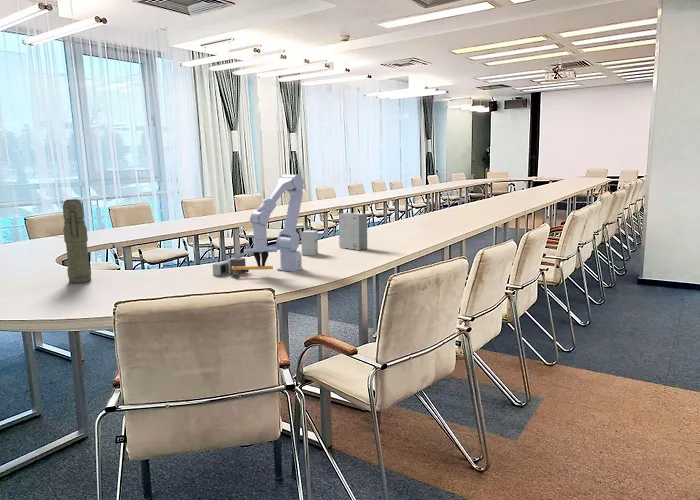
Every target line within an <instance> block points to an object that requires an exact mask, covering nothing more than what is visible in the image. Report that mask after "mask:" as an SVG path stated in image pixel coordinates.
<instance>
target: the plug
mask: <svg viewBox="0 0 700 500" xmlns="http://www.w3.org/2000/svg"><path fill="white" fill-rule="evenodd" d="M227 260H228V269H229V273H228V274H229V275H230V274H231V275H233V270H232V266H246V258H243V257H232V258H228V259H227ZM249 271H250V270H237V272H238V275H242V274H245V273H249Z"/></svg>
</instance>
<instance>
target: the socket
mask: <svg viewBox="0 0 700 500" xmlns="http://www.w3.org/2000/svg"><path fill="white" fill-rule="evenodd" d="M228 274H229V269H228V259H225V260H222V261H220V262H219V261H218V262H216V263H212V276H217V277H221V276H224V275H228Z"/></svg>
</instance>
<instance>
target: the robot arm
mask: <svg viewBox="0 0 700 500" xmlns="http://www.w3.org/2000/svg"><path fill="white" fill-rule="evenodd" d="M304 185H305V180H304V178H303V177H302V175H301V174H287V173H286V174H285V173H283V174H282V175H281V176H280V178H279V179H278V183H277V185H276V187H275V188H274V190H273V191H272V193H271V194H270V195H269V197H266V198H264V199H263V200H262V203H261V204H260V206H258V207H257V210H255V211H253V212H252V213H251V214H250V217H249V222H250V223H251V227H252V231H253V232H252V233H253V247H252V248H244V249H243V254H244V255H247V254H248V255H250V254H251V255H253V256H254V259H255V262H256V265H257V266H266V264H267V263H266V262H267V260H268V257H269V253H278V251H279V255H280V267H278V268H276V270H277V271H284V272H285V271H287V272H297V271H300V270H302V269H303V266H302V264H303V262H302V252H300V251H298V248H299V246H300V235H299V234H298V231H296V230H297V225H298V221H299V214H300V210H301V205H302V201H303V200H302V199H303V195H304V194H303V193H304V192H303V190H304ZM285 192H287V194H289V196H290V197H289V202H288V206H287V211H286V217H285V221H284V228H283V229H282V230H281V231H280V232H279V233H278V237H277V238H276V240H275V241H276V243H275V244H276V246H272V247H271V246H268V236H267V233H268V232H267V231H268V230H267V224H268V223H270V216H271V214H272V213H273V211H274V210H275V208H276V207H277V201H278V200H279V199H280V198H281V197H282V196H283V195H284V193H285ZM258 270H261V269H258Z"/></svg>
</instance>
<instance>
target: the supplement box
mask: <svg viewBox="0 0 700 500" xmlns="http://www.w3.org/2000/svg"><path fill="white" fill-rule="evenodd" d="M300 234H301V235H300V237H301V239H300V240H301V256H316V255H318V254H319V244H318V243H319V242H318V241H319V237H318V234H319V233H318V230H303V231H301V233H300Z"/></svg>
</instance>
